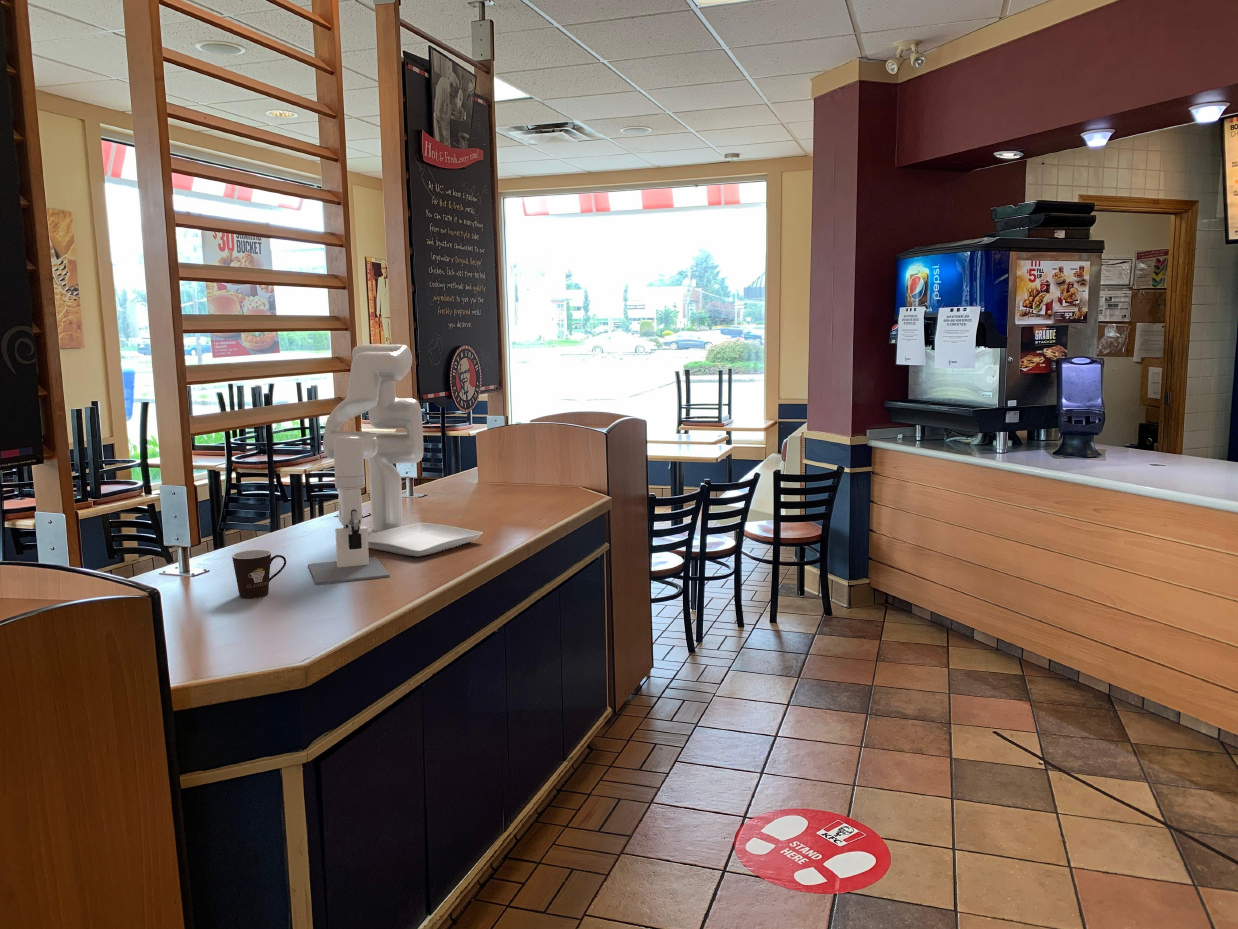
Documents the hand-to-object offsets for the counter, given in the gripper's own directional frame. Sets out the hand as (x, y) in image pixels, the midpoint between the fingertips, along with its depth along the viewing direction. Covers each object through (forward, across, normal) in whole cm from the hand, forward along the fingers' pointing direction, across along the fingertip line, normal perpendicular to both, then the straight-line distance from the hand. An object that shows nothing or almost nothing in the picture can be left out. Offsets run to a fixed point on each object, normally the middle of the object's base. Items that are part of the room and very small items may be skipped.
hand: (352, 544), depth 235 cm
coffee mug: (+6, +17, -24) cm, 30 cm away
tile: (+5, 0, 0) cm, 5 cm away
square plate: (+7, -18, +22) cm, 29 cm away
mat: (+6, +4, -2) cm, 8 cm away
